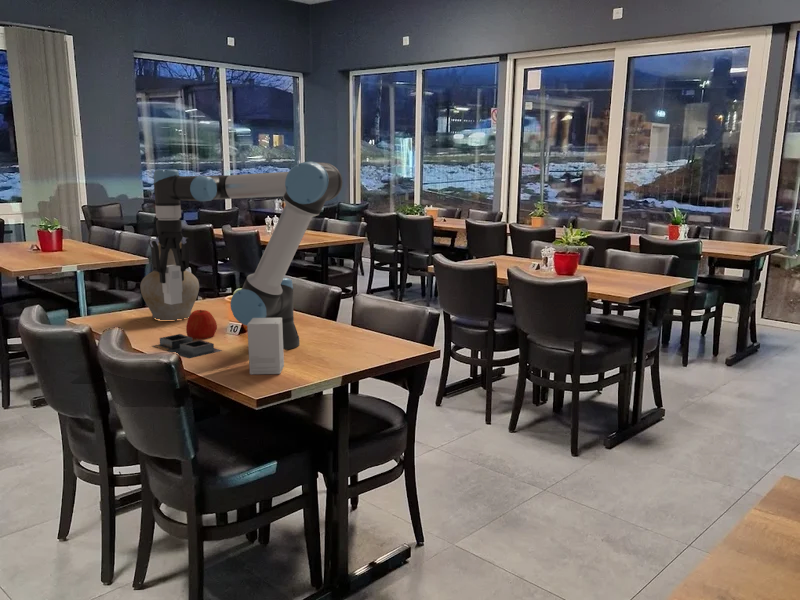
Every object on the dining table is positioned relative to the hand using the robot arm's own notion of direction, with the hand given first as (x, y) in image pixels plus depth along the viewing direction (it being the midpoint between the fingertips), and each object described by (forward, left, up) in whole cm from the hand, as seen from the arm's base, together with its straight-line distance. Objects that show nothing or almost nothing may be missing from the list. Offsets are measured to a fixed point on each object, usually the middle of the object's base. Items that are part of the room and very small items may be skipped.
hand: (172, 291), depth 214 cm
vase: (+43, -24, -19) cm, 53 cm away
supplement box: (-41, -5, -19) cm, 46 cm away
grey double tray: (-6, 0, -19) cm, 20 cm away
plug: (0, 0, -4) cm, 4 cm away
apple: (+5, -13, -19) cm, 24 cm away
